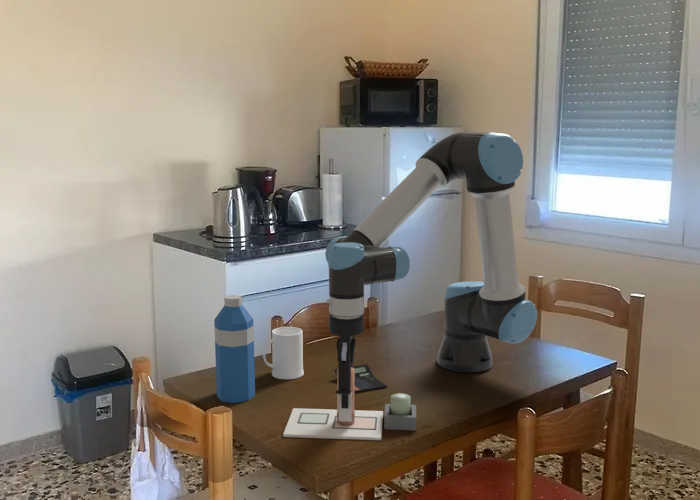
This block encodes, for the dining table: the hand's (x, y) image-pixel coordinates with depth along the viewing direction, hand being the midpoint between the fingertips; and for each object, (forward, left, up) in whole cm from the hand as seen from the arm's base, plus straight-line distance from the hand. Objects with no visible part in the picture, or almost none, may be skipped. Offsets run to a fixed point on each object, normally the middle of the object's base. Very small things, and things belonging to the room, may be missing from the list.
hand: (346, 416), depth 159 cm
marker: (0, 0, -1) cm, 1 cm away
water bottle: (+28, -15, -2) cm, 32 cm away
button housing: (-12, -2, -2) cm, 12 cm away
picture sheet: (+2, 0, -2) cm, 3 cm away
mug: (+19, -30, -2) cm, 36 cm away
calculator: (-2, -26, -3) cm, 26 cm away
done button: (-12, -2, 0) cm, 12 cm away
